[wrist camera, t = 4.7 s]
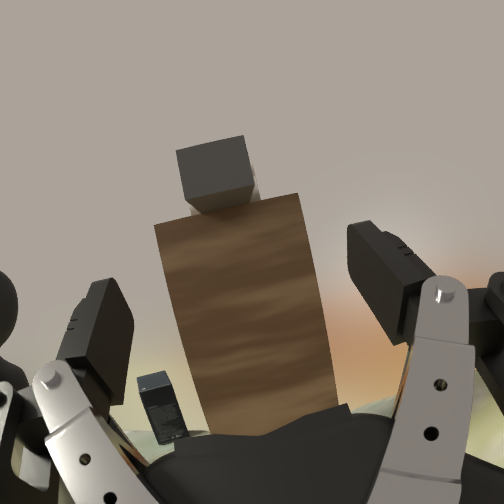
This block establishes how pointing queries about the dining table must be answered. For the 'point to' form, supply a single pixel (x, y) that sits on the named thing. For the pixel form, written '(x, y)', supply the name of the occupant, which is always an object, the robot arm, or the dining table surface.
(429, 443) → the robot arm
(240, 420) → the stand
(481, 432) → the dining table surface
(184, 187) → the dark grey matte block
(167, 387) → the box
